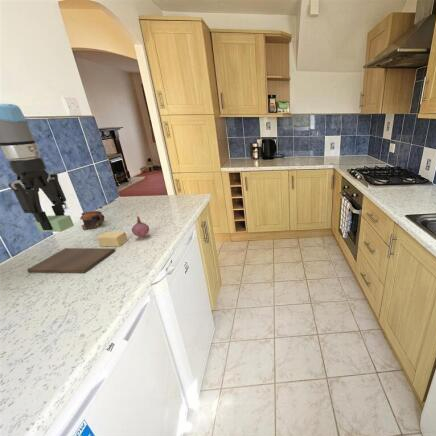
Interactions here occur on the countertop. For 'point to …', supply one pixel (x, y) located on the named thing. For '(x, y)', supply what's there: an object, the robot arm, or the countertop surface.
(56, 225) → the sage pad
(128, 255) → the countertop surface
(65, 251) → the board
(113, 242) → the sand pad
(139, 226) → the vegetable
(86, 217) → the pottery mug
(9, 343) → the countertop surface
